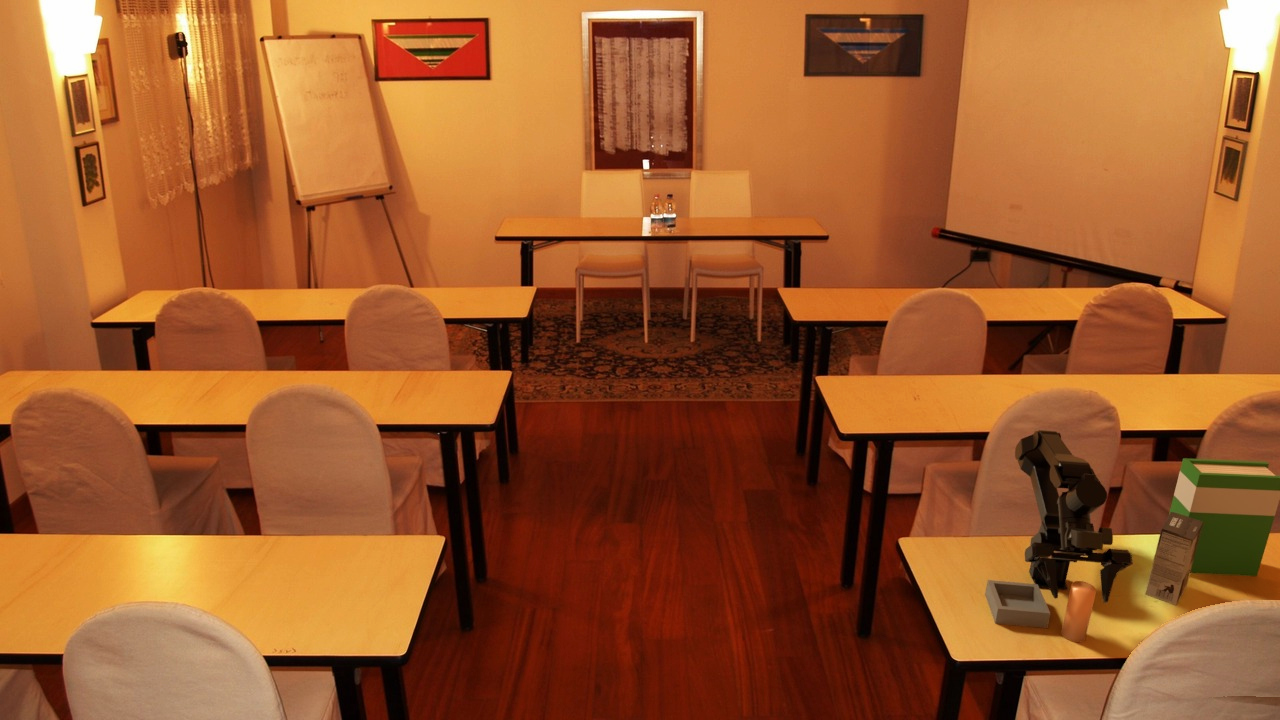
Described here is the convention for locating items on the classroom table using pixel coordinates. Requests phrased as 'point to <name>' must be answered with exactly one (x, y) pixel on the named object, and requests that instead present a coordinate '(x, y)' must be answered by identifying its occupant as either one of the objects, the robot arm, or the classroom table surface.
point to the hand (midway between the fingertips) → (1080, 600)
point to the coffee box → (1174, 558)
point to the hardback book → (1228, 512)
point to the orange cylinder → (1078, 611)
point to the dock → (1017, 604)
